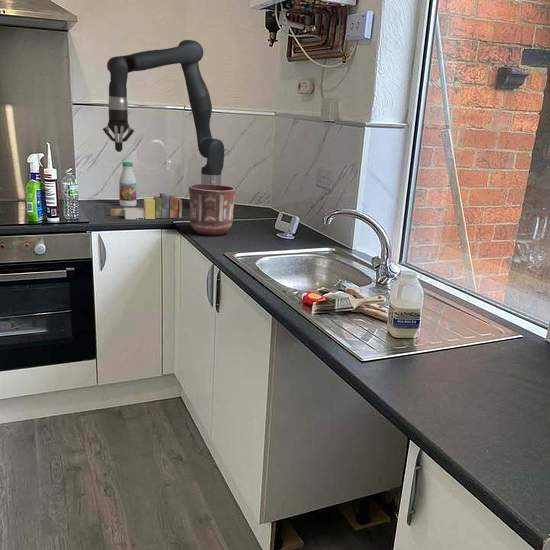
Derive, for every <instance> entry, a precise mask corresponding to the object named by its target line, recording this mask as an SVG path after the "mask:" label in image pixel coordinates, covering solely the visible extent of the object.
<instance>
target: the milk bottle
mask: <svg viewBox="0 0 550 550" xmlns="http://www.w3.org/2000/svg"><path fill="white" fill-rule="evenodd" d="M133 164H134V163H133V162H130V161H122V172H121V174H120V176H119V181H118V182H119V189H118V190H119V191H118V193H119V206H121V207H125V208H131V207H136V206H137V178H136V176H135V174H134V171H133V169H134V165H133ZM130 206H131V207H130Z"/></svg>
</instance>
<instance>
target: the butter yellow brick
mask: <svg viewBox="0 0 550 550" xmlns="http://www.w3.org/2000/svg"><path fill="white" fill-rule="evenodd" d="M143 209H144V210H145V219H155V220H156V218H155V200H154V198H144V199H143ZM145 219H144V220H145Z"/></svg>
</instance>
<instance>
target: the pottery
mask: <svg viewBox="0 0 550 550" xmlns="http://www.w3.org/2000/svg"><path fill="white" fill-rule="evenodd" d="M236 190H237V189H236V188H234V187H233V186H230V185H225V184H221V185H216V184H201V183H196V184H194V183H193V184H191V185H189V187H188V194H189V222H190V226H191V228H192V229H193V230H194V232H195V233H196V234H199V235H202V236H208V237H209V236H210V237H211V236H212V237H214V236H224V235H225V234H226V233H228V231H229V230H230V229H231V227H232V225H233V221H234V205H235V196H236Z"/></svg>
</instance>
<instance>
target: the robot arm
mask: <svg viewBox="0 0 550 550" xmlns="http://www.w3.org/2000/svg"><path fill="white" fill-rule="evenodd" d="M203 57H204V48H203V46H202V45H201V43H199V42H198V41H196V40H193V39H183V40H182V41H180V42H179V44H178V45H177V46H175V47H169V48H162V49H150V50H144V51H139V52H134V53H132V54H126V55H119V56H113V57H110V58H109V59H108V60H107V62H106V63H107V64H106V68H107V71H108V72H109V73H110V75H109V76H110V77H109V78H110V80H109V81H110V82H109V84H108V106H107V107H108V122H107V125H106V126H105V127H102V131H103V132H104V133H105V135H107V137H108V138H109V140H110V141H112V142H114V149H115V151H116V152H117V153H120V152H121V153H122V151H123V143H124V142H128V140H129V139H130V137H132V134H133V133H134V132H135V130H134V129H133V128H131V126H130V124H129V119H128V118H129V116H128V114H129V113H128V111H129V110H128V106H129V105H128V96H127V95H128V93H127V89H128V88H127V82H128V74H129V73H131V72H132V73H133V72H140V71H141V72H142V71H146V70H147V71H148V70H152V69H156V68H161V67H165V66H170V65H178V64H180V66H181V69H182V72H183V75H184V82H185V85H186V92H187V95H188V101H189V105H190V109H191V110H190V111H191V112H192V113H191V114H192V117H193V122H194V127H195V133H196V141H197V148H198V151H199V154H200V155H201V156H202V157H203V158H205V159H206V164H205V165H204V166H202V167H201V170H200V184H216V185H222V170H223V168H224V165H225V163H224V162H225V161H224V160H225V145H224V143H223V141H222V140H220V139H217V138H213V136H212V132H211V125H210V123H211V117H212V113H213V105H212V101H211V96H210V92H209V89H208V87H207V84H206V83H205V80H204V79H203V77H202V73H201V70H200V65H199V62H200V61H201V60H202V59H203ZM110 131H111V132H112V134H113V136H114V137H113V136H112V134H111V133H110ZM126 132H127V134H125V133H126ZM124 134H125V136H124Z"/></svg>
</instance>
